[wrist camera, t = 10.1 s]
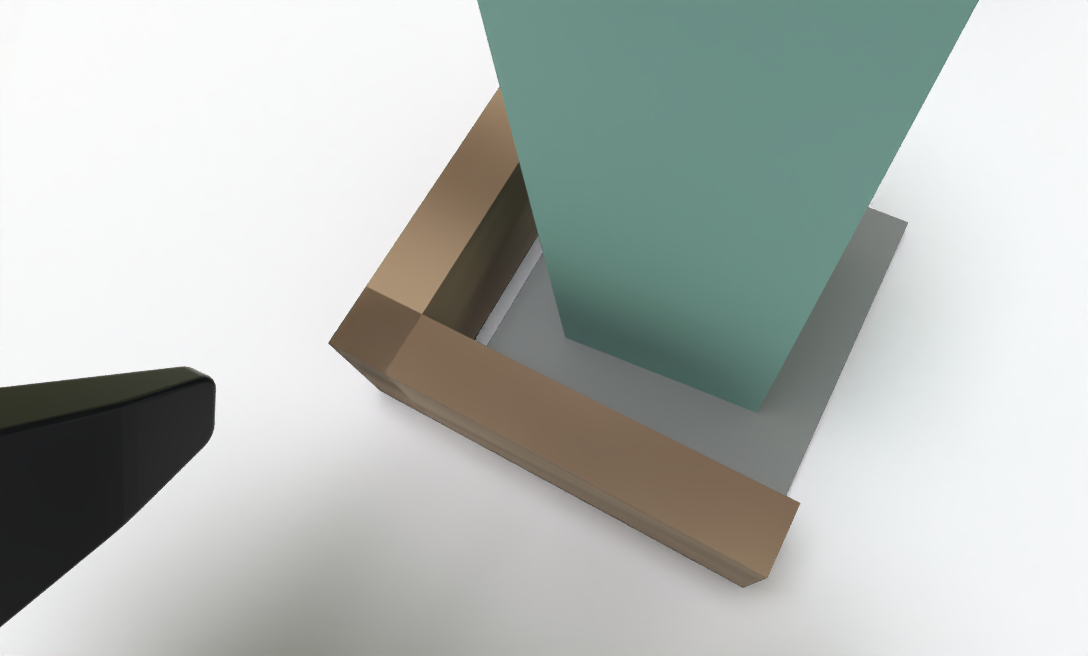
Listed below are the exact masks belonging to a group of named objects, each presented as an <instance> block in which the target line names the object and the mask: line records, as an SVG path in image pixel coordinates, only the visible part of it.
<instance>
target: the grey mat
mask: <svg viewBox="0 0 1088 656" xmlns="http://www.w3.org/2000/svg"><path fill="white" fill-rule="evenodd" d="M907 224H908V222H906V221H903V220H900V219H898V218H895V217H892V216H890V215H887V214H884V213H882V212H879V211H876V210H874V209H871V208H869V207H867V209H866V211H865V213H864V215H863V217H862V219H861V220H860V222H859V224H858V226H857V228H856V230H855V232H854V233H853V235H852V237H851V239H850V241H849V243H848V245H847V246H846V248H845V250H844V252H843V254H842V256H841V258H840V259H839V261H838V263H837V265H836V267H835V269H834V271H833V273H832V274H831V276H830V278H829V280H828V282H827V284H826V286H825V287H824V289H823V291H822V293H821V295H820V297H819V299H818V300H817V302H816V304H815V306H814V308H813V310H812V312H811V313H810V315H809V317H808V319H807V321H806V323H805V325H804V327H803V328H802V330H801V332H800V334H799V336H798V338H797V340H796V341H795V343H794V345H793V347H792V349H791V351H790V353H789V354H788V356H787V358H786V360H785V362H784V364H783V366H782V367H781V369H780V371H779V373H778V375H777V377H776V379H775V380H774V382H773V384H772V386H771V388H770V390H769V392H768V394H767V395H766V397H765V399H764V401H763V403H762V405H761V407H760V408H759V410H758V412H757V413H756V412H753V411H751V410H748V409H746V408H743V407H741V406H738V405H736V404H733V403H731V402H728V401H725V400H723V399H720V398H718V397H715V396H713V395H710V394H708V393H705V392H703V391H700V390H698V389H695V388H692V387H690V386H687V385H685V384H682V383H680V382H677V381H675V380H672V379H670V378H667V377H665V376H662V375H659V374H657V373H654V372H652V371H649V370H647V369H644V368H642V367H639V366H637V365H634V364H632V363H629V362H626V361H624V360H621V359H619V358H616V357H614V356H611V355H609V354H606V353H604V352H601V351H599V350H596V349H593V348H591V347H588V346H586V345H583V344H581V343H578V342H576V341H573V340H571V339H568V338H566V337H565V335H564V331H563V327H562V323H561V320H560V316H559V312H558V308H557V304H556V300H555V297H554V293H553V289H552V285H551V281H550V277H549V274H548V270H547V266H546V262H545V258H544V254H543V253H542V255H541V257H540V258H539V260H538V262H537V263H536V265H535V267H534V268H533V270H532V272H531V273H530V275H529V277H528V278H527V280H526V282H525V283H524V285H523V287H522V288H521V290H520V292H519V293H518V295H517V297H516V298H515V300H514V302H513V303H512V305H511V307H510V308H509V310H508V312H507V313H506V315H505V317H504V318H503V320H502V322H501V323H500V325H499V327H498V328H497V330H496V332H495V333H494V335H493V337H492V338H491V340H490V342H489V343H488V345H487V347H489V348H491V349H493V350H495V351H497V352H499V353H501V354H503V355H505V356H507V357H509V358H511V359H513V360H515V361H517V362H519V363H521V364H523V365H525V366H527V367H529V368H531V369H533V370H535V371H537V372H539V373H541V374H543V375H545V376H547V377H549V378H551V379H553V380H555V381H557V382H559V383H561V384H563V385H565V386H567V387H569V388H571V389H573V390H575V391H577V392H579V393H581V394H583V395H585V396H587V397H589V398H591V399H593V400H595V401H597V402H599V403H601V404H603V405H605V406H607V407H609V408H611V409H613V410H615V411H617V412H619V413H621V414H623V415H625V416H627V417H629V418H631V419H633V420H635V421H637V422H639V423H641V424H643V425H645V426H647V427H649V428H651V429H653V430H655V431H657V432H659V433H661V434H663V435H665V436H667V437H669V438H671V439H673V440H675V441H677V442H679V443H681V444H683V445H685V446H687V447H689V448H691V449H693V450H695V451H697V452H699V453H701V454H703V455H705V456H707V457H709V458H711V459H713V460H715V461H717V462H719V463H721V464H723V465H725V466H727V467H729V468H731V469H733V470H735V471H737V472H739V473H741V474H743V475H745V476H747V477H749V478H751V479H753V480H755V481H757V482H759V483H761V484H763V485H765V486H767V487H769V488H771V489H773V490H775V491H777V492H779V493H781V494H783V495H785V496H786V494H787V492H788V490H789V487H790V485H791V483H792V481H793V478H794V476H795V474H796V472H797V470H798V467H799V465H800V463H801V461H802V458H803V456H804V454H805V452H806V449H807V447H808V445H809V443H810V441H811V438H812V436H813V434H814V432H815V429H816V427H817V425H818V423H819V420H820V418H821V416H822V414H823V412H824V409H825V407H826V405H827V403H828V400H829V398H830V396H831V394H832V391H833V389H834V387H835V385H836V382H837V380H838V378H839V376H840V374H841V371H842V369H843V367H844V365H845V362H846V360H847V358H848V356H849V353H850V351H851V349H852V347H853V345H854V342H855V340H856V338H857V336H858V333H859V331H860V329H861V327H862V324H863V322H864V320H865V318H866V316H867V313H868V311H869V309H870V307H871V304H872V302H873V300H874V298H875V295H876V293H877V291H878V289H879V287H880V284H881V282H882V280H883V278H884V275H885V273H886V271H887V269H888V266H889V264H890V262H891V260H892V257H893V255H894V253H895V251H896V249H897V246H898V244H899V242H900V240H901V237H902V235H903V233H904V231H905V228H906V226H907Z"/></svg>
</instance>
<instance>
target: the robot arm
mask: <svg viewBox="0 0 1088 656" xmlns="http://www.w3.org/2000/svg"><path fill="white" fill-rule="evenodd" d="M215 398H216V385H215V383H214V381H213V379H212V378H211V377H210V376H208V375H206V374H204V373H201V372H199V371H197V370H195V369H193V368H190V367H174V368H165V369H157V370H148V371H139V372H131V373H122V374H114V375H105V376H96V377H88V378H79V379H70V380H62V381H53V382H44V383H36V384H27V385H18V386H10V387H1V388H0V627H1V626H2V625H4V624H5V623H6V622H7V621H9V620H10V619H11V618H12V617H13V616H15V615H16V614H17V613H18V612H20V611H21V610H22V609H23V608H24V607H26V606H27V605H28V604H29V603H31V602H32V601H33V600H34V599H35V598H37V597H38V596H39V595H40V594H41V593H43V592H44V591H45V590H46V589H48V588H49V587H50V586H51V585H52V584H54V583H55V582H56V581H57V580H59V579H60V578H61V577H62V576H63V575H65V574H66V573H67V572H68V571H69V570H71V569H72V568H73V567H74V566H76V565H77V564H78V563H79V562H80V561H82V560H83V559H84V558H85V557H87V556H88V555H89V554H90V553H91V552H93V551H94V550H95V549H96V548H97V547H99V546H100V545H101V544H102V543H104V542H105V541H106V540H107V539H108V538H110V537H111V536H112V535H113V534H114V533H115V532H117V531H118V530H119V529H120V528H121V527H122V526H124V525H125V524H126V523H127V522H128V521H129V520H130V519H131V518H132V517H133V516H134V515H135V514H136V513H137V512H139V511H140V510H141V509H142V508H143V507H144V506H145V505H146V504H147V503H148V502H149V501H150V500H151V499H152V498H153V497H154V496H155V495H156V494H157V493H158V492H159V491H160V490H161V489H162V488H163V487H164V486H165V485H166V484H167V483H168V482H169V481H170V480H171V479H172V478H173V477H174V476H175V475H176V474H177V473H178V472H179V471H180V470H181V469H182V468H183V467H184V466H185V465H186V464H187V463H188V462H189V461H190V460H191V459H192V458H193V457H194V456H195V455H196V454H197V453H198V452H199V451H200V450H201V449H202V448H203V447H204V446H205V445H206V444H207V442H208V441H209V440H210V438H211V436H212V434H213V431H214V425H215Z"/></svg>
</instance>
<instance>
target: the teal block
mask: <svg viewBox="0 0 1088 656" xmlns="http://www.w3.org/2000/svg"><path fill="white" fill-rule="evenodd" d="M477 1H478V5H479V9H480V13H481V16H482V20H483V24H484V28H485V32H486V36H487V40H488V43H489V47H490V51H491V55H492V59H493V63H494V66H495V70H496V74H497V78H498V82H499V86H500V89H501V93H502V97H503V101H504V105H505V109H506V112H507V116H508V120H509V124H510V128H511V132H512V135H513V139H514V143H515V147H516V151H517V155H518V158H519V162H520V166H521V170H522V174H523V178H524V181H525V185H526V189H527V193H528V197H529V201H530V204H531V208H532V212H533V216H534V220H535V224H536V227H537V231H538V235H539V239H540V243H541V247H542V250H543V254H544V258H545V262H546V266H547V270H548V274H549V277H550V281H551V285H552V289H553V293H554V297H555V300H556V304H557V308H558V312H559V316H560V320H561V323H562V327H563V331H564V335H565V337H566V338H568V339H571V340H573V341H576V342H578V343H581V344H583V345H586V346H588V347H591V348H593V349H596V350H599V351H601V352H604V353H606V354H609V355H611V356H614V357H616V358H619V359H621V360H624V361H626V362H629V363H632V364H634V365H637V366H639V367H642V368H644V369H647V370H649V371H652V372H654V373H657V374H659V375H662V376H665V377H667V378H670V379H672V380H675V381H677V382H680V383H682V384H685V385H687V386H690V387H692V388H695V389H698V390H700V391H703V392H705V393H708V394H710V395H713V396H715V397H718V398H720V399H723V400H725V401H728V402H731V403H733V404H736V405H738V406H741V407H743V408H746V409H748V410H751V411H753V412H756V413H757V412H758V410H759V408H760V407H761V405H762V403H763V401H764V399H765V397H766V395H767V394H768V392H769V390H770V388H771V386H772V384H773V382H774V380H775V379H776V377H777V375H778V373H779V371H780V369H781V367H782V366H783V364H784V362H785V360H786V358H787V356H788V354H789V353H790V351H791V349H792V347H793V345H794V343H795V341H796V340H797V338H798V336H799V334H800V332H801V330H802V328H803V327H804V325H805V323H806V321H807V319H808V317H809V315H810V313H811V312H812V310H813V308H814V306H815V304H816V302H817V300H818V299H819V297H820V295H821V293H822V291H823V289H824V287H825V286H826V284H827V282H828V280H829V278H830V276H831V274H832V273H833V271H834V269H835V267H836V265H837V263H838V261H839V259H840V258H841V256H842V254H843V252H844V250H845V248H846V246H847V245H848V243H849V241H850V239H851V237H852V235H853V233H854V232H855V230H856V228H857V226H858V224H859V222H860V220H861V219H862V217H863V215H864V213H865V211H866V209H867V207H868V206H869V204H870V202H871V200H872V198H873V196H874V194H875V192H876V191H877V189H878V187H879V185H880V183H881V181H882V179H883V178H884V176H885V174H886V172H887V170H888V168H889V166H890V165H891V163H892V161H893V159H894V157H895V155H896V153H897V152H898V150H899V148H900V146H901V144H902V142H903V140H904V138H905V137H906V135H907V133H908V131H909V129H910V127H911V125H912V124H913V122H914V120H915V118H916V116H917V114H918V112H919V111H920V109H921V107H922V105H923V103H924V101H925V99H926V98H927V96H928V94H929V92H930V90H931V88H932V86H933V85H934V83H935V81H936V79H937V77H938V75H939V73H940V71H941V70H942V68H943V66H944V64H945V62H946V60H947V58H948V57H949V55H950V53H951V51H952V49H953V47H954V45H955V44H956V42H957V40H958V38H959V36H960V34H961V32H962V31H963V29H964V27H965V25H966V23H967V21H968V19H969V17H970V16H971V14H972V12H973V10H974V8H975V6H976V4H977V3H978V1H979V0H477Z"/></svg>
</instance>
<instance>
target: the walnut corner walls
mask: <svg viewBox="0 0 1088 656" xmlns="http://www.w3.org/2000/svg"><path fill="white" fill-rule="evenodd" d="M537 235H538V231H537V227H536V224H535V220H534V216H533V212H532V208H531V204H530V201H529V197H528V193H527V189H526V185H525V181H524V178H523V174H522V170H521V166H520V162H519V158H518V155H517V151H516V147H515V143H514V139H513V135H512V132H511V128H510V124H509V120H508V116H507V112H506V109H505V105H504V101H503V97H502V93H501V89H500V87H499V88H498V90H497V91H496V93H495V94H494V96H493V97H492V99H491V100H490V102H489V103H488V105H487V106H486V108H485V109H484V111H483V112H482V114H481V115H480V117H479V118H478V120H477V121H476V123H475V124H474V126H473V127H472V129H471V130H470V132H469V133H468V135H467V136H466V138H465V139H464V141H463V142H462V144H461V145H460V147H459V148H458V150H457V151H456V153H455V154H454V156H453V157H452V159H451V160H450V162H449V163H448V165H447V166H446V168H445V169H444V171H443V172H442V174H441V175H440V177H439V178H438V180H437V181H436V183H435V184H434V186H433V187H432V189H431V190H430V192H429V193H428V195H427V196H426V198H425V199H424V201H423V202H422V204H421V205H420V207H419V208H418V209H417V211H416V212H415V214H414V215H413V217H412V218H411V220H410V221H409V223H408V224H407V226H406V227H405V229H404V230H403V232H402V233H401V235H400V236H399V238H398V239H397V241H396V242H395V244H394V245H393V247H392V248H391V250H390V251H389V253H388V254H387V256H386V257H385V259H384V260H383V262H382V263H381V265H380V266H379V268H378V269H377V271H376V272H375V274H374V275H373V277H372V278H371V280H370V281H369V283H368V284H367V286H366V287H365V289H364V290H363V292H362V293H361V295H360V296H359V298H358V299H357V301H356V302H355V304H354V305H353V307H352V308H351V310H350V311H349V313H348V314H347V316H346V317H345V319H344V320H343V322H342V323H341V325H340V326H339V328H338V329H337V331H336V332H335V334H334V335H333V337H332V338H331V340H330V341H329V343H328V344H330V345H331V346H332V347H333V348H334V349H335V350H336V351H337V352H338V353H339V354H341V355H342V356H343V357H344V358H345V359H346V360H347V361H348V362H349V363H350V364H351V365H353V366H354V367H355V368H356V369H357V370H358V371H359V372H360V373H361V374H362V375H364V376H365V377H366V378H367V379H368V380H369V381H370V382H371V383H372V384H373V385H375V386H376V387H377V388H378V389H379V390H380V391H382V392H384V393H386V394H388V395H389V396H391V397H393V398H395V399H397V400H399V401H401V402H402V403H404V404H406V405H408V406H410V407H412V408H413V409H415V410H417V411H419V412H421V413H423V414H424V415H426V416H428V417H430V418H432V419H434V420H436V421H437V422H439V423H441V424H443V425H445V426H447V427H448V428H450V429H452V430H454V431H456V432H458V433H459V434H461V435H463V436H465V437H467V438H469V439H471V440H472V441H474V442H476V443H478V444H480V445H482V446H483V447H485V448H487V449H489V450H491V451H493V452H494V453H496V454H498V455H500V456H502V457H504V458H506V459H507V460H509V461H511V462H513V463H515V464H517V465H518V466H520V467H522V468H524V469H526V470H528V471H529V472H531V473H533V474H535V475H537V476H539V477H541V478H542V479H544V480H546V481H548V482H550V483H552V484H553V485H555V486H557V487H559V488H561V489H563V490H564V491H566V492H568V493H570V494H572V495H574V496H576V497H577V498H579V499H581V500H583V501H585V502H587V503H588V504H590V505H592V506H594V507H596V508H598V509H599V510H601V511H603V512H605V513H607V514H609V515H610V516H612V517H614V518H616V519H618V520H620V521H622V522H623V523H625V524H627V525H629V526H631V527H633V528H634V529H636V530H638V531H640V532H642V533H644V534H645V535H647V536H649V537H651V538H653V539H655V540H657V541H658V542H660V543H662V544H664V545H666V546H668V547H669V548H671V549H673V550H675V551H677V552H679V553H680V554H682V555H684V556H686V557H688V558H690V559H692V560H693V561H695V562H697V563H699V564H701V565H703V566H704V567H706V568H708V569H710V570H712V571H714V572H715V573H717V574H719V575H721V576H723V577H725V578H727V579H728V580H730V581H732V582H734V583H736V584H738V585H739V586H741V587H746V586H748V585H751V584H753V583H756V582H758V581H761V580H763V579H766V578H768V575H769V573H770V571H771V568H772V566H773V564H774V562H775V559H776V557H777V555H778V553H779V550H780V548H781V546H782V544H783V541H784V539H785V537H786V534H787V532H788V530H789V528H790V525H791V523H792V521H793V519H794V516H795V514H796V512H797V510H798V507H799V505H800V503H799V502H797V501H795V500H793V499H791V498H789V497H787V496H785V495H783V494H781V493H779V492H777V491H775V490H773V489H771V488H769V487H767V486H765V485H763V484H761V483H759V482H757V481H755V480H753V479H751V478H749V477H747V476H745V475H743V474H741V473H739V472H737V471H735V470H733V469H731V468H729V467H727V466H725V465H723V464H721V463H719V462H717V461H715V460H713V459H711V458H709V457H707V456H705V455H703V454H701V453H699V452H697V451H695V450H693V449H691V448H689V447H687V446H685V445H683V444H681V443H679V442H677V441H675V440H673V439H671V438H669V437H667V436H665V435H663V434H661V433H659V432H657V431H655V430H653V429H651V428H649V427H647V426H645V425H643V424H641V423H639V422H637V421H635V420H633V419H631V418H629V417H627V416H625V415H623V414H621V413H619V412H617V411H615V410H613V409H611V408H609V407H607V406H605V405H603V404H601V403H599V402H597V401H595V400H593V399H591V398H589V397H587V396H585V395H583V394H581V393H579V392H577V391H575V390H573V389H571V388H569V387H567V386H565V385H563V384H561V383H559V382H557V381H555V380H553V379H551V378H549V377H547V376H545V375H543V374H541V373H539V372H537V371H535V370H533V369H531V368H529V367H527V366H525V365H523V364H521V363H519V362H517V361H515V360H513V359H511V358H509V357H507V356H505V355H503V354H501V353H499V352H497V351H495V350H493V349H491V348H489V347H487V346H485V345H483V344H481V343H479V342H477V341H475V340H474V339H475V337H476V336H477V334H478V332H479V331H480V329H481V327H482V326H483V324H484V323H485V321H486V319H487V318H488V316H489V314H490V313H491V311H492V309H493V308H494V306H495V304H496V303H497V301H498V299H499V298H500V296H501V295H502V293H503V291H504V290H505V288H506V286H507V285H508V283H509V281H510V280H511V278H512V276H513V275H514V273H515V272H516V270H517V268H518V267H519V265H520V263H521V262H522V260H523V258H524V257H525V255H526V253H527V252H528V250H529V249H530V247H531V245H532V244H533V242H534V240H535V239H536V237H537Z"/></svg>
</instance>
